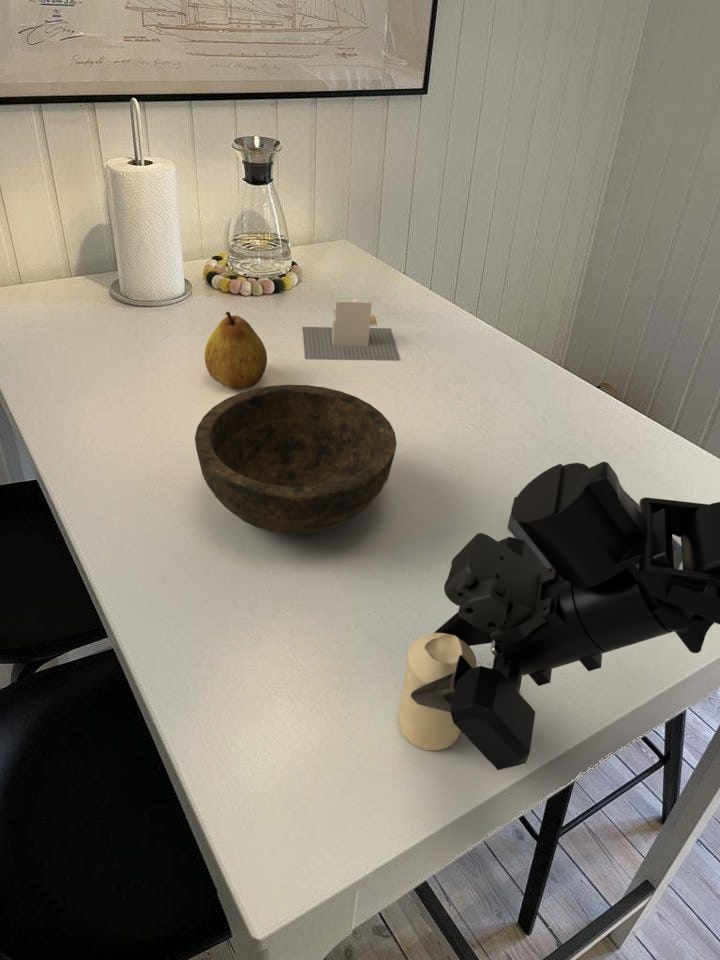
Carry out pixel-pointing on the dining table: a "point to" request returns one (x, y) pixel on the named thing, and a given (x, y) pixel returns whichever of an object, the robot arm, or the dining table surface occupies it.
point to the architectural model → (350, 336)
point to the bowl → (295, 456)
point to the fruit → (235, 354)
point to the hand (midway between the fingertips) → (422, 670)
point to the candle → (424, 666)
